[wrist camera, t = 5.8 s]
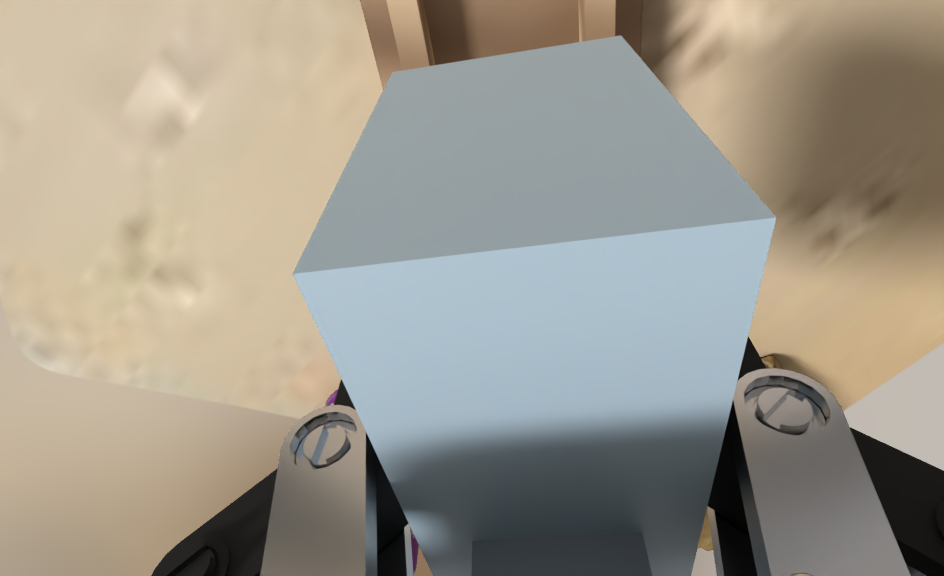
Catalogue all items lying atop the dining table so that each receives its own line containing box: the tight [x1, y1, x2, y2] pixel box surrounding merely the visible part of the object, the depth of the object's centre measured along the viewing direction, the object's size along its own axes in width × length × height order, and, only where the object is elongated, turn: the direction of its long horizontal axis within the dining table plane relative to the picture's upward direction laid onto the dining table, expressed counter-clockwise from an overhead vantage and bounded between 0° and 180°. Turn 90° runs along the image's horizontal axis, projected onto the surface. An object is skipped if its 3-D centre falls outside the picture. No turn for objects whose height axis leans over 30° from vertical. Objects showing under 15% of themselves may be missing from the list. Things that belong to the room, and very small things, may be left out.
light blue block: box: [293, 35, 776, 576], centre depth 9 cm, size 9×4×7 cm, turn 9°
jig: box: [360, 0, 642, 90], centre depth 23 cm, size 22×10×3 cm, turn 9°
